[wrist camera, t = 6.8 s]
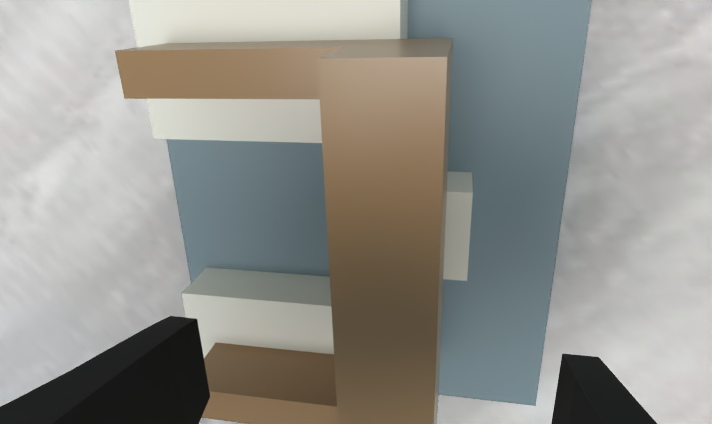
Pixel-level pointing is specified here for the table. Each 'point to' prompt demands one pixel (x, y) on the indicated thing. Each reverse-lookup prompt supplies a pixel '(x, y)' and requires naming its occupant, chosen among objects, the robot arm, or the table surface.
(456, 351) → the stand
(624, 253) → the table surface
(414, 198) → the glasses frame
